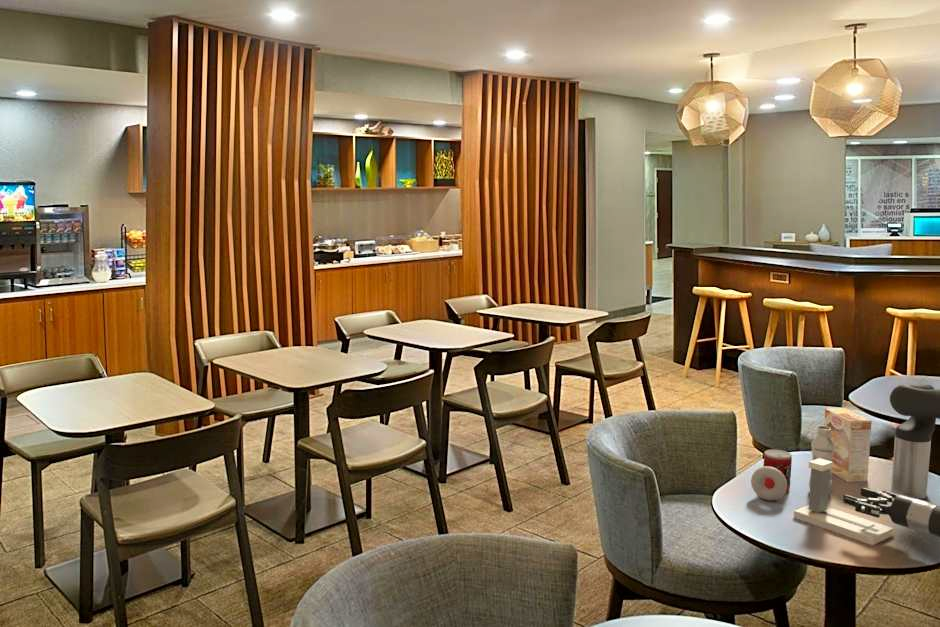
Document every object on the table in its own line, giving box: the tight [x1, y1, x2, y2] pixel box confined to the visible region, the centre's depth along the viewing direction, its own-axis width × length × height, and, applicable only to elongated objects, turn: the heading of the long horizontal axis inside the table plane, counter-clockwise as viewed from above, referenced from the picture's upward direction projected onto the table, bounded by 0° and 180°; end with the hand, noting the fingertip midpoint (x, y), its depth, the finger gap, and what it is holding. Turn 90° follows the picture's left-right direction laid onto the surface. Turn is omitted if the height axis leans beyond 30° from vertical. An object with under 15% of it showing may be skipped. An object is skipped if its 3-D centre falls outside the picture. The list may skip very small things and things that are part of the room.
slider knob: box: [808, 458, 833, 513], centre depth 221 cm, size 5×4×14 cm
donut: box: [750, 465, 787, 501], centre depth 235 cm, size 10×4×10 cm, turn 57°
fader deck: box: [793, 504, 894, 546], centre depth 216 cm, size 10×22×2 cm, turn 36°
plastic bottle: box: [808, 425, 835, 495], centre depth 239 cm, size 6×7×20 cm
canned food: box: [763, 449, 793, 493], centre depth 244 cm, size 8×8×11 cm
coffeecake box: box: [823, 407, 873, 483], centre depth 256 cm, size 15×7×20 cm, turn 6°
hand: (852, 494), depth 213 cm, fingers open, 8 cm apart
